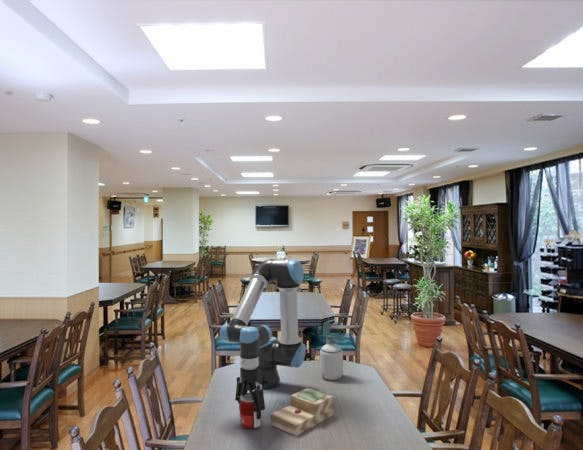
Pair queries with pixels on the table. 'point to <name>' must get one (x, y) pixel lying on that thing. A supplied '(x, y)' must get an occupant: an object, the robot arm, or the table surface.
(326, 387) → the table surface
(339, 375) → the soap bottle
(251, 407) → the canned food
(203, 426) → the table surface
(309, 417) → the stand
